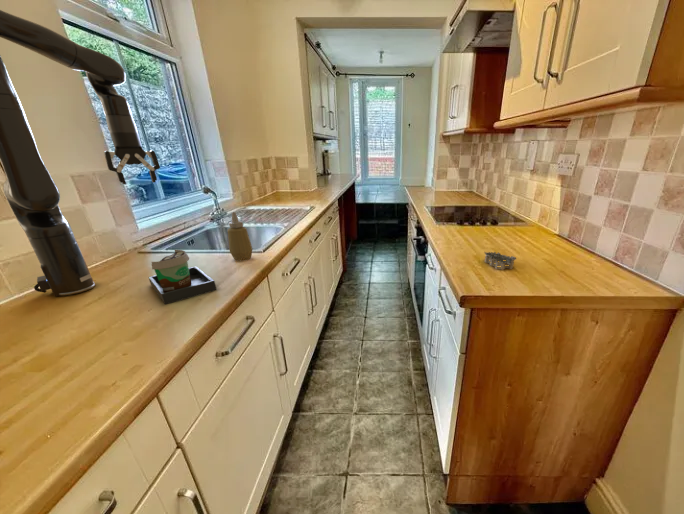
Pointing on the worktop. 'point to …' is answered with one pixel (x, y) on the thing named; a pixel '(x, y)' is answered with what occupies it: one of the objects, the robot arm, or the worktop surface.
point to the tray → (198, 286)
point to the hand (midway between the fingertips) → (139, 183)
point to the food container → (173, 271)
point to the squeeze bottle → (239, 240)
